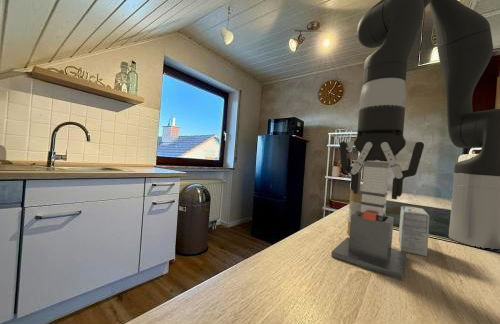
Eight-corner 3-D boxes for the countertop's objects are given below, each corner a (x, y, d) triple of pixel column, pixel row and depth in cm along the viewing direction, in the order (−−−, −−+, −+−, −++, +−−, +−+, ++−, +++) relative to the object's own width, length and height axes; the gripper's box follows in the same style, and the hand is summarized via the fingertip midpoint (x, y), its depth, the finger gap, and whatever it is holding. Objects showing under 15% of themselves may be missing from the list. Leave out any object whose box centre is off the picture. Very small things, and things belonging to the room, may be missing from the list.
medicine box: (427, 257, 43) (430, 215, 43) (400, 251, 45) (403, 210, 45) (421, 245, 50) (424, 208, 49) (397, 240, 52) (400, 205, 52)
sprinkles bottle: (351, 230, 57) (355, 180, 57) (369, 236, 53) (374, 183, 53) (343, 233, 54) (347, 181, 54) (361, 240, 50) (366, 183, 50)
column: (361, 243, 44) (367, 161, 43) (383, 249, 41) (389, 162, 41) (357, 249, 41) (363, 161, 40) (380, 256, 38) (387, 162, 38)
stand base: (347, 241, 49) (350, 201, 49) (406, 257, 42) (410, 211, 42) (331, 256, 40) (334, 208, 40) (402, 280, 33) (406, 222, 33)
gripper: (429, 109, 39) (422, 200, 39) (346, 115, 48) (341, 189, 48) (431, 98, 33) (422, 205, 33) (336, 107, 42) (330, 191, 43)
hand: (374, 195), depth 41 cm, fingers open, 5 cm apart
